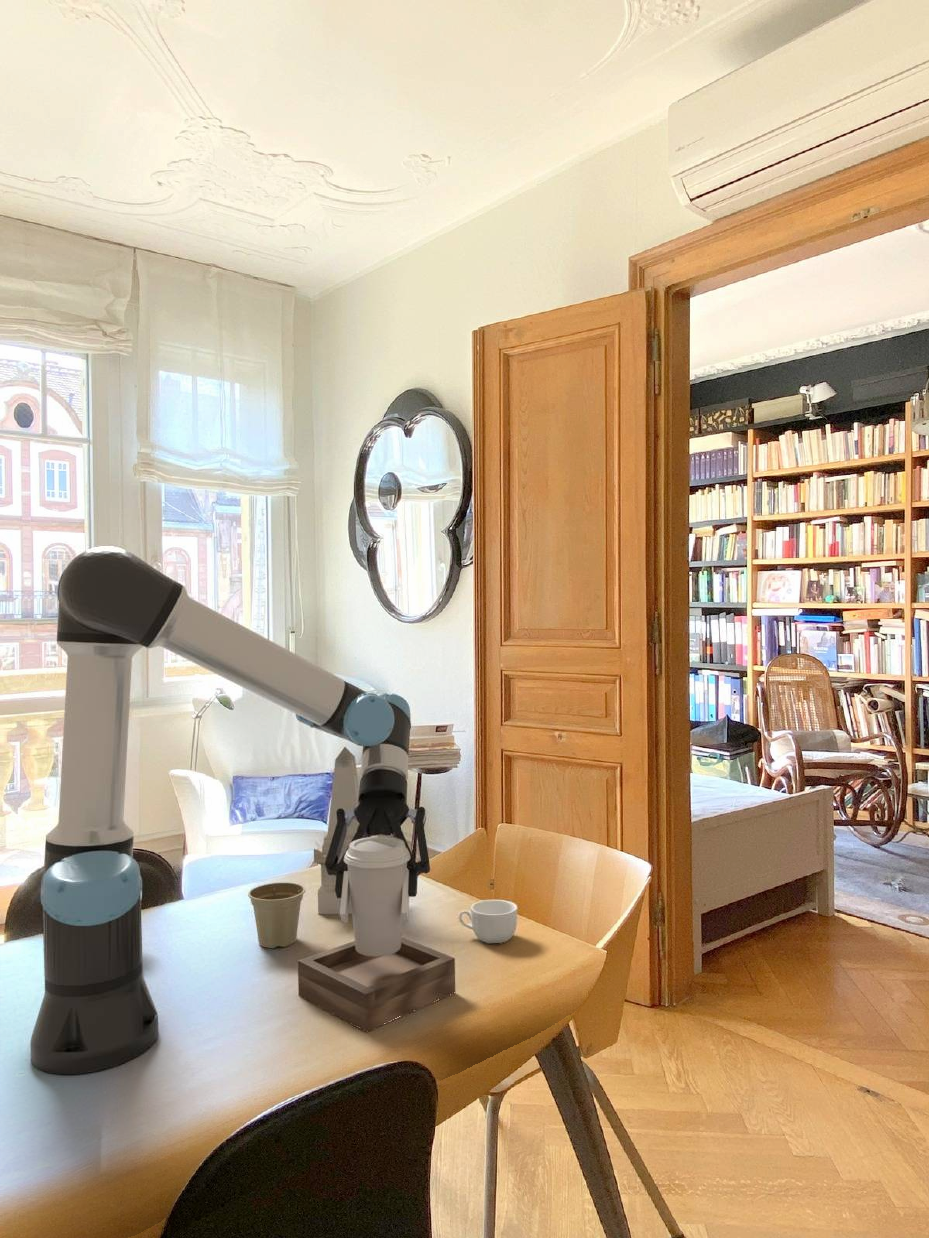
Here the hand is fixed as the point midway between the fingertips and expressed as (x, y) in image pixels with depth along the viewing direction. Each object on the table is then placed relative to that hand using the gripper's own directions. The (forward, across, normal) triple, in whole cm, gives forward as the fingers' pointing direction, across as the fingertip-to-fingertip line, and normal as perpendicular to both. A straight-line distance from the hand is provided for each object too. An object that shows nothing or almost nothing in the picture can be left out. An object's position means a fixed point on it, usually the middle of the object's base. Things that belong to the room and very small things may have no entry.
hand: (374, 917), depth 120 cm
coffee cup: (+2, 0, -6) cm, 7 cm away
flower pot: (-8, +19, -26) cm, 33 cm away
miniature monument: (-20, +10, -38) cm, 44 cm away
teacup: (-8, -16, -26) cm, 31 cm away
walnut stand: (+6, 0, -11) cm, 13 cm away
